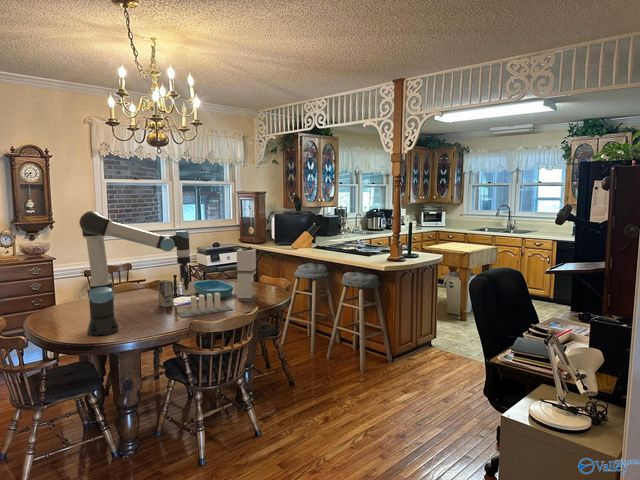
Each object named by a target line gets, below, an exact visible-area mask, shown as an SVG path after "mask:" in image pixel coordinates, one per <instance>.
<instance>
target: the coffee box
mask: <svg viewBox="0 0 640 480" xmlns="http://www.w3.org/2000/svg"><path fill="white" fill-rule="evenodd" d="M173 285H174V283H173V281H170V280H167V279H165V280H159V281H157V291H158V305H159V306H160V307H164V308H169V307H173V305H175V303H174V286H173Z"/></svg>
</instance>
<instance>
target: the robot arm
mask: <svg viewBox="0 0 640 480" xmlns="http://www.w3.org/2000/svg"><path fill="white" fill-rule="evenodd" d="M78 223H79V227H80V229H81V233H82V237H83V238H84V239H85V240H86V247H87V252H88V253H87V254H88V261H89V267H90V268H89V269H90V276H91V282H90V283H89V292H88V302H89V303H88V305H89V319H90V321H89V324H88V327H87V331H86V332H87V335H88V334H89V335H88V336H90V335H94V336H93V337H99V336H98V335H104V336H108V335H107V334H109V335H112V334H111V333H113V334H114V332H115V333H117V332H119V331H120V325H119V323H118V321H117V319H116V316H115V315H116V314H115V304H114V303H115V296H116V295H115V290H114V284H113V283H114V282H113V280H111V279H110V275H109V269H108V262H107V261H108V260H107V254H106V253H107V251H106V245H105V237H107V236H109V237H112V238H116V239H117V238H118V239H121V240H125V241H128V242H132V243H136V244H140V245H144V246H148V247H151V248H154V249H157V250H158V249H159V250H162V251H164V252H171V251H172V250H173V249H175V248H176V256H177V257H176V261H177V264H179V276H180V282H181V284H180V285H181V286H182V278H183V279H184V284H183V285H184V295H185V296H189V295H190V291H189V290H190V289H189V285H190V274H189V273H190V271H189V270H190V269H189V266H188V264H190V263H191V256H190V255H191V251H192V250H191V249H190V232H189V231H188V230H177V231H175V234H157V233H153V232H151V231H146V230H144V229H140V228H135V227H132V226H129V225H126V224H123V223H117V222H114V221H113V220H111V218H107V217H105V216H104V215H103V214H102V213H101V212H100V211H97V210H88V211H86V212H85V213H83V214H82V215H81V217H80V218H79V222H78ZM184 295H183V296H184Z"/></svg>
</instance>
